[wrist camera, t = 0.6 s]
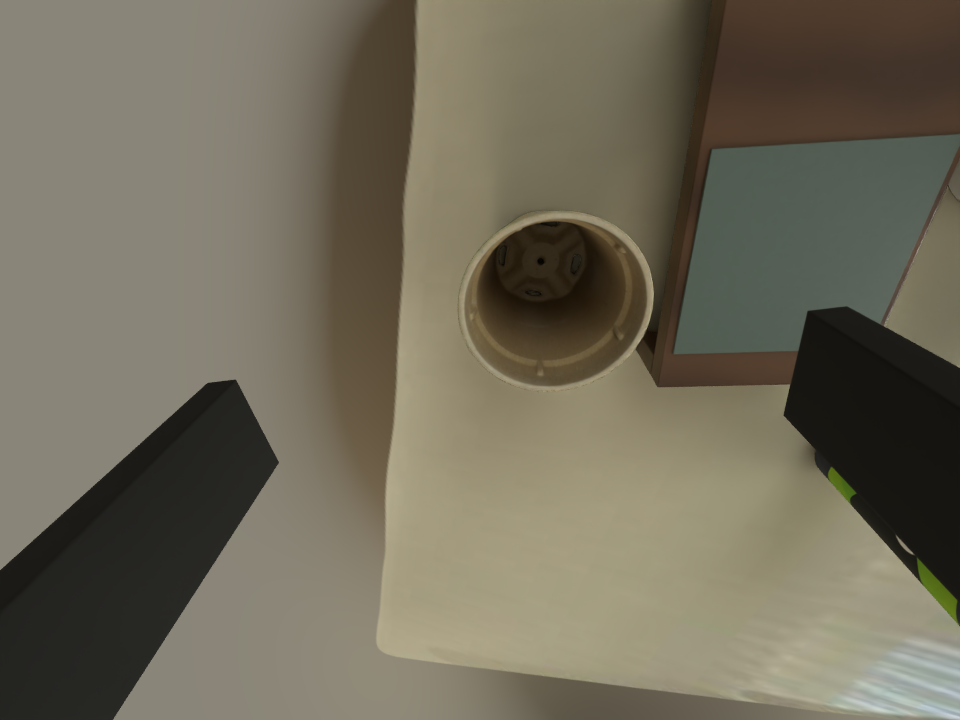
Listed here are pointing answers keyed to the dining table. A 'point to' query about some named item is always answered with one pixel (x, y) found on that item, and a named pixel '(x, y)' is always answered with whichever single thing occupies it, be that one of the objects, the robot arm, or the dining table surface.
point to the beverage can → (892, 541)
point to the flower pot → (555, 301)
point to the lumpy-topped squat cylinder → (955, 182)
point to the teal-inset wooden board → (804, 177)
